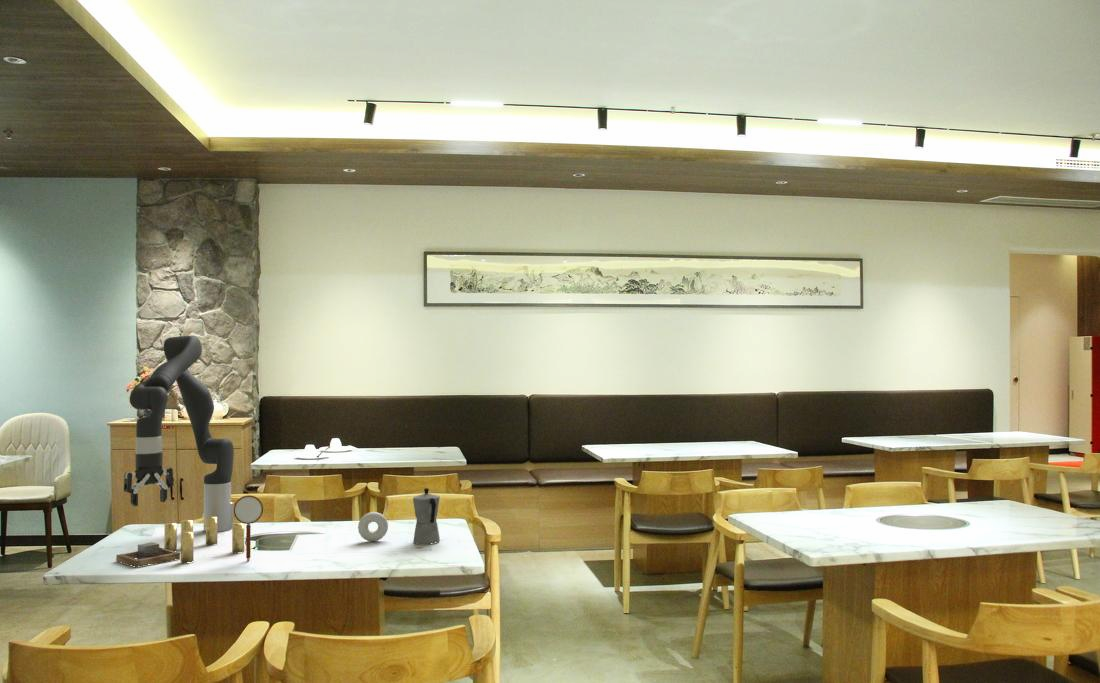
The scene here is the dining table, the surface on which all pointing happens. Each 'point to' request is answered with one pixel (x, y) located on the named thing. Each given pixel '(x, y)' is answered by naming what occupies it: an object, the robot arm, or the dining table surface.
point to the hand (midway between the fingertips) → (149, 503)
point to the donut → (367, 520)
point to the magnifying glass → (248, 515)
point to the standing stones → (211, 537)
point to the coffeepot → (426, 518)
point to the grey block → (148, 550)
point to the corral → (130, 558)
